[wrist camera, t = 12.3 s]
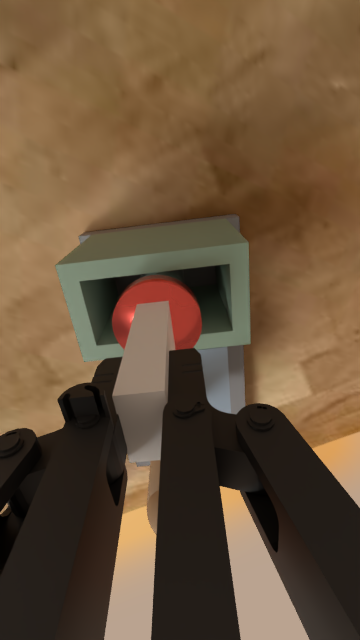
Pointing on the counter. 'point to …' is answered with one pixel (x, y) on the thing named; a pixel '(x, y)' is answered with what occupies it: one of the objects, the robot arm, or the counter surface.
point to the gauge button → (158, 290)
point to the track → (158, 256)
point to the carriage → (218, 398)
